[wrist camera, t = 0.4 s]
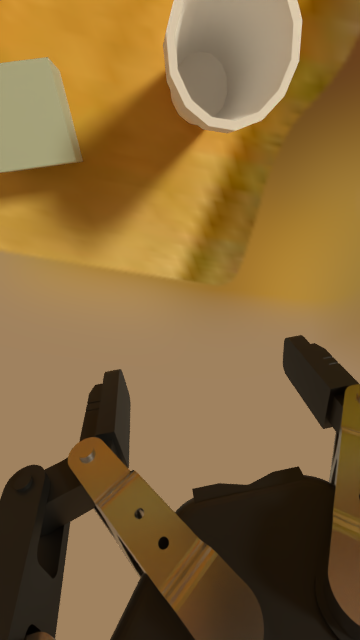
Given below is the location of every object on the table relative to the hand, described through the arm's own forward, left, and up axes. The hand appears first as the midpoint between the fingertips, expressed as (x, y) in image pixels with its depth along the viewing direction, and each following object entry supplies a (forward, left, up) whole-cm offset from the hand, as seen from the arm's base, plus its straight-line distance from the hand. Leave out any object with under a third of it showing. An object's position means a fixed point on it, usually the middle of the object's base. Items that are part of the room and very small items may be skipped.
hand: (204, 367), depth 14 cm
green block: (-14, -12, -28) cm, 33 cm away
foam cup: (-15, +6, -28) cm, 32 cm away
